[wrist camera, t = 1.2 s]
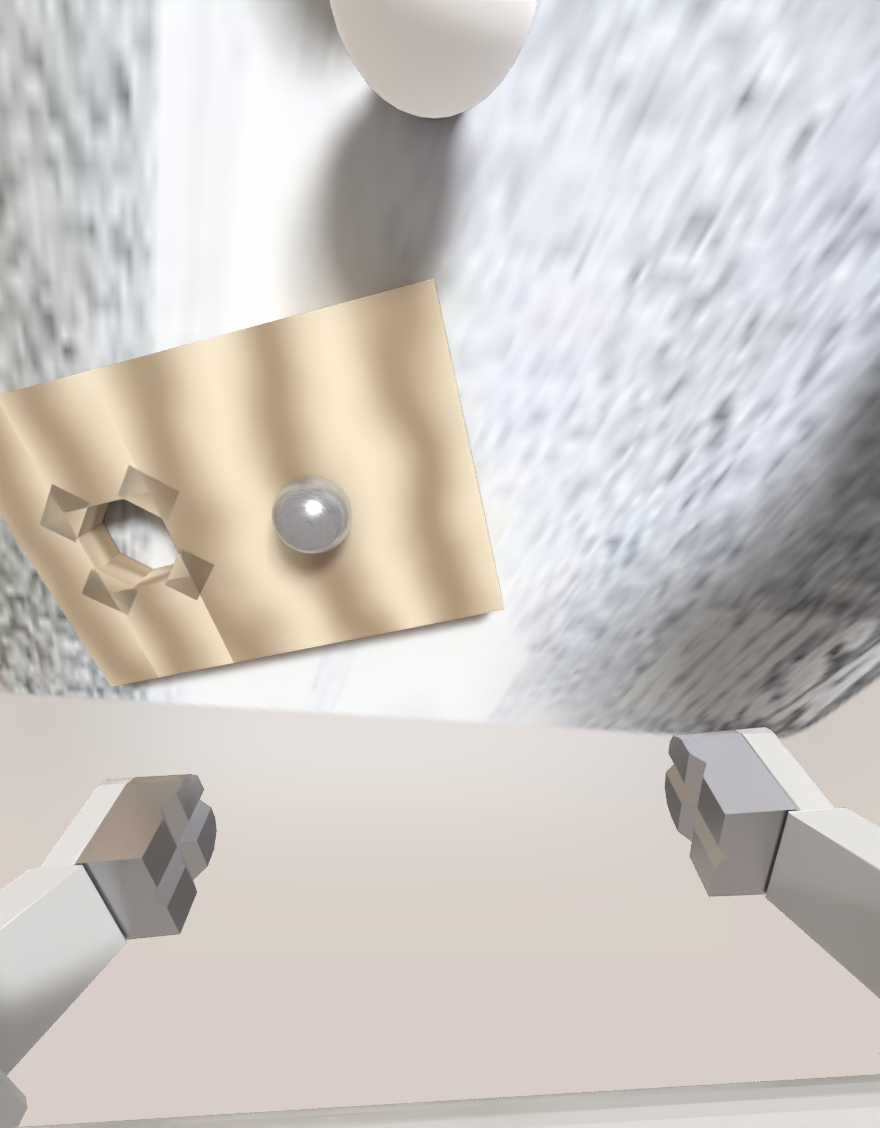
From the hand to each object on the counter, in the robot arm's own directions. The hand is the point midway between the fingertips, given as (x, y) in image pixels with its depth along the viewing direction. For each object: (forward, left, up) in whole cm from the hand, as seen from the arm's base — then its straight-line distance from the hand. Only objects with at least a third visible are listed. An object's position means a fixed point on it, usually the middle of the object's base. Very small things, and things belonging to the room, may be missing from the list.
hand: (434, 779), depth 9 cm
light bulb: (-4, -16, -24) cm, 29 cm away
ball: (+7, +1, -19) cm, 20 cm away
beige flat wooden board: (+11, +1, -23) cm, 26 cm away
